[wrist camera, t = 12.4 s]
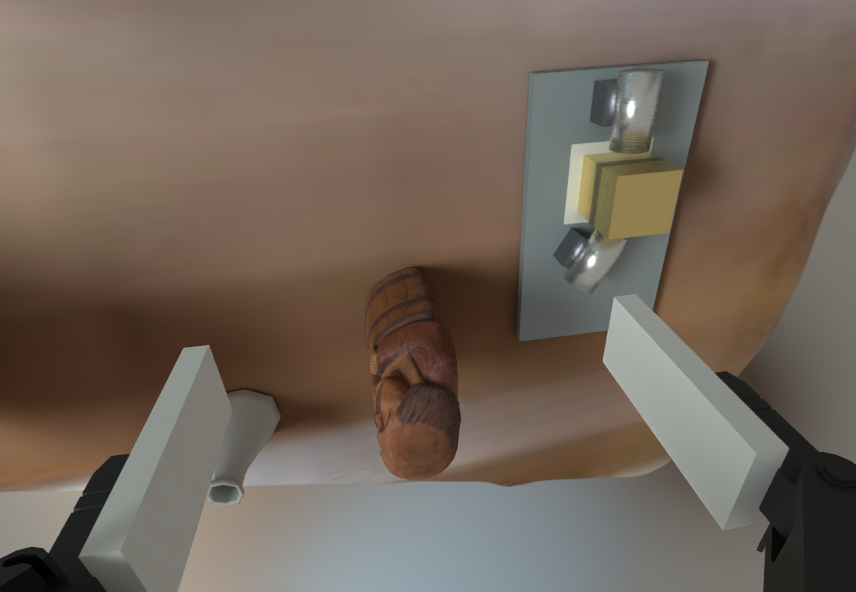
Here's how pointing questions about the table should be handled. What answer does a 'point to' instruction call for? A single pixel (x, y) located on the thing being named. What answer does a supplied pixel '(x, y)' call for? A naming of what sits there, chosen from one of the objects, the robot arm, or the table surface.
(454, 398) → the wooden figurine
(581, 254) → the shaft
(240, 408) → the flask
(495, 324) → the table surface
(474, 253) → the table surface
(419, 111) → the table surface
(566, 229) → the base plate
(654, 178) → the block
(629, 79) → the shaft
